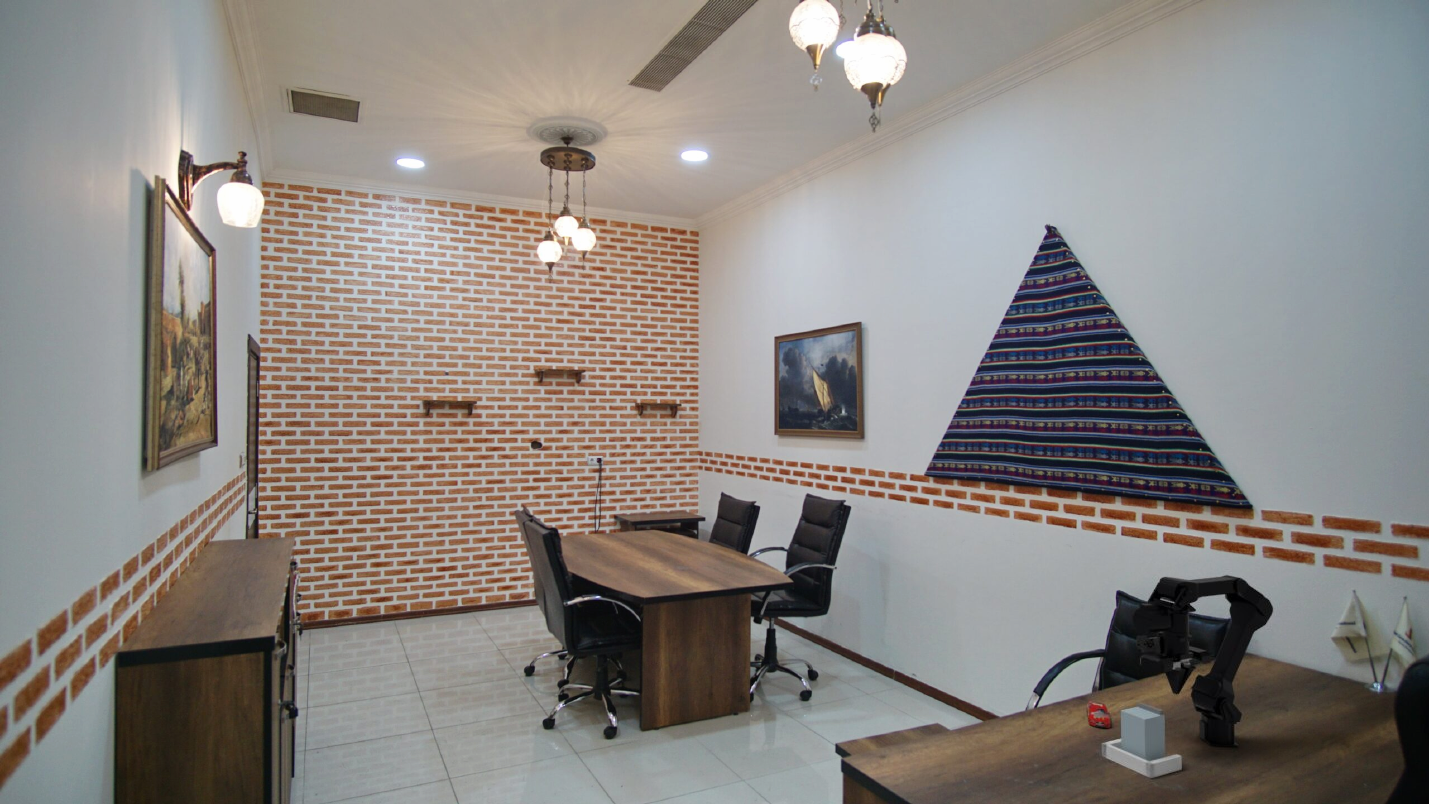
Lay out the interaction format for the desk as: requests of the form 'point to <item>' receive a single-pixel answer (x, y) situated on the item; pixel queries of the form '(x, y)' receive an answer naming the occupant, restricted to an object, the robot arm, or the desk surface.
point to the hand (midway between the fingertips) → (1175, 693)
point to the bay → (1141, 760)
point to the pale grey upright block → (1143, 732)
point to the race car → (1098, 715)
